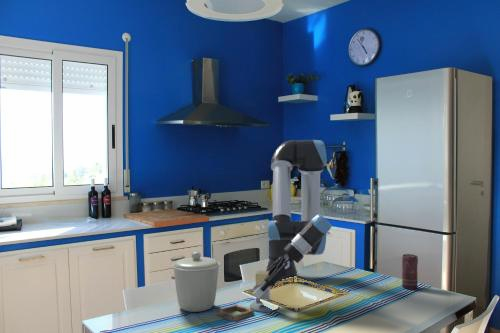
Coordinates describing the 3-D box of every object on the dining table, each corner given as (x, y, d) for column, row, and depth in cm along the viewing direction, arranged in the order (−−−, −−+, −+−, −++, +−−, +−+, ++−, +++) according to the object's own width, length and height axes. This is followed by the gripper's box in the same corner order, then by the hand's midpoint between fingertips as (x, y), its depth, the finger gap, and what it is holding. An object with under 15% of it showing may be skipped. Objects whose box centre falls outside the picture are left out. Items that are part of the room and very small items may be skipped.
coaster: (243, 307, 165) (243, 305, 165) (263, 300, 173) (263, 299, 173) (264, 314, 157) (264, 312, 157) (285, 307, 165) (285, 305, 165)
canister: (213, 317, 155) (212, 258, 154) (164, 314, 158) (164, 256, 158) (226, 301, 172) (225, 247, 172) (182, 298, 176) (181, 246, 176)
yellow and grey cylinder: (256, 303, 163) (255, 273, 163) (258, 299, 167) (257, 270, 167) (268, 303, 162) (267, 274, 162) (270, 300, 167) (269, 271, 166)
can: (420, 290, 185) (420, 256, 185) (405, 290, 185) (404, 256, 185) (415, 285, 191) (414, 253, 191) (400, 285, 191) (400, 253, 191)
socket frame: (216, 314, 157) (216, 310, 157) (236, 308, 164) (236, 304, 164) (234, 321, 151) (234, 317, 151) (253, 314, 157) (253, 310, 157)
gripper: (309, 261, 156) (264, 308, 155) (299, 250, 175) (259, 293, 174) (294, 246, 156) (249, 294, 155) (286, 237, 175) (245, 280, 173)
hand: (254, 293), depth 164 cm, fingers closed on yellow and grey cylinder, 6 cm apart
